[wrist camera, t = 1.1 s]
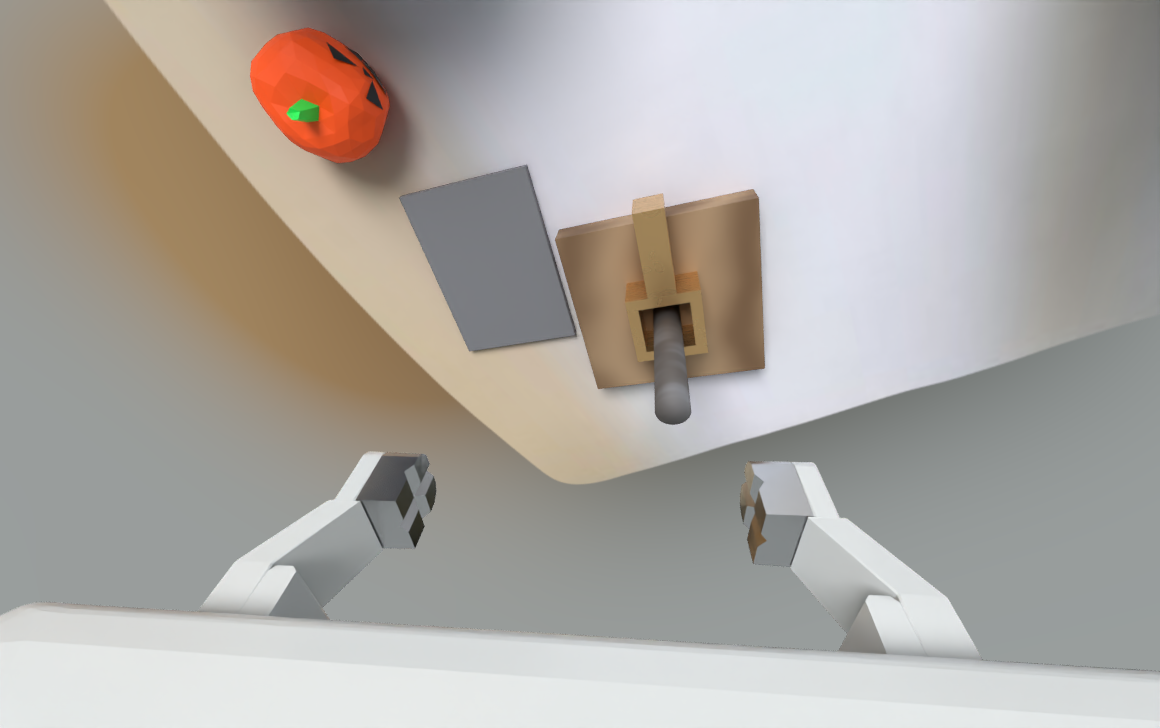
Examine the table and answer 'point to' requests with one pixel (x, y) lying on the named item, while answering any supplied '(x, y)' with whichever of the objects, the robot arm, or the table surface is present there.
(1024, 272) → the table surface
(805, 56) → the table surface
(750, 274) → the stand
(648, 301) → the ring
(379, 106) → the pumpkin
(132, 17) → the table surface
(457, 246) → the mat
